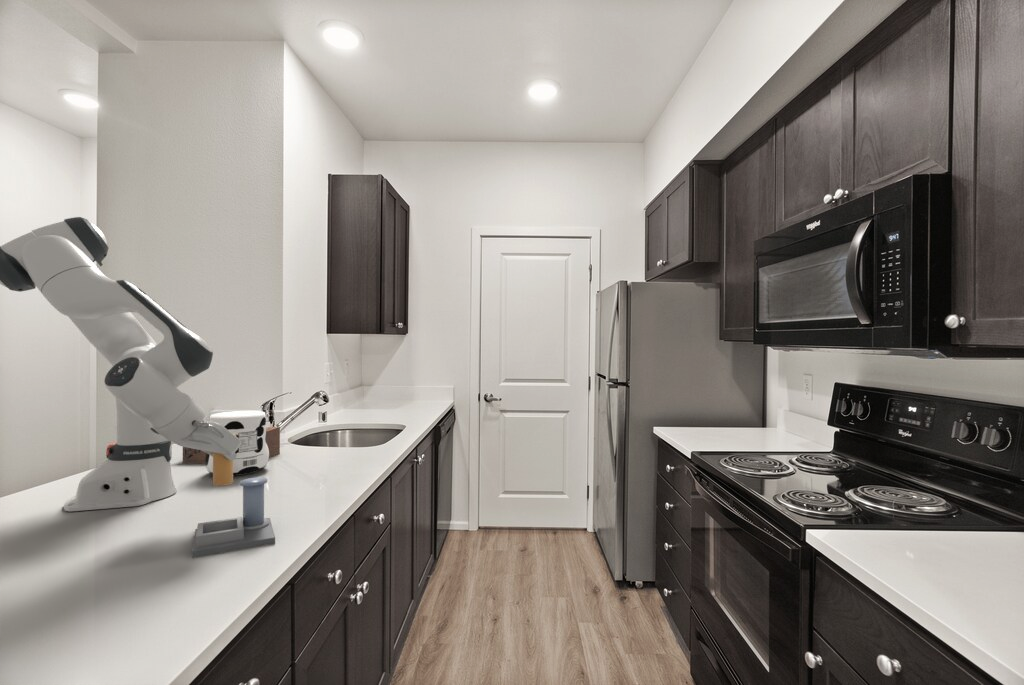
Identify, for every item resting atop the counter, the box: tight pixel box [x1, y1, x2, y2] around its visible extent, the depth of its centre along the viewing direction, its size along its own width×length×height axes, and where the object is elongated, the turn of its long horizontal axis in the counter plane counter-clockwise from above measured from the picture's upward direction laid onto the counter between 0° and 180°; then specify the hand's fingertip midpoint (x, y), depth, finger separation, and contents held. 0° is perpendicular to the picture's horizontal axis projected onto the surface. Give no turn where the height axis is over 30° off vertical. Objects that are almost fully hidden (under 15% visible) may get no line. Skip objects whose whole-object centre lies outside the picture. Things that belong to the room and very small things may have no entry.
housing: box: [191, 476, 276, 559], centre depth 103 cm, size 14×13×11 cm
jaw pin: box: [212, 433, 236, 487], centre depth 115 cm, size 5×5×11 cm
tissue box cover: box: [182, 426, 281, 464], centre depth 175 cm, size 26×14×10 cm, turn 88°
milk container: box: [205, 410, 270, 477], centre depth 156 cm, size 17×17×18 cm
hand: (225, 456), depth 116 cm, fingers closed on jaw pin, 4 cm apart
